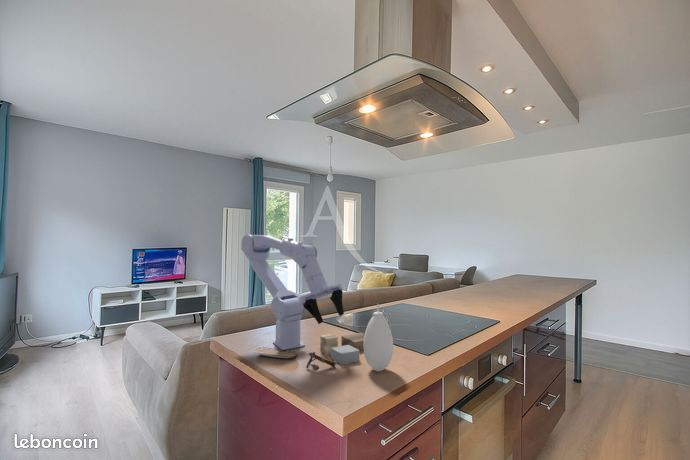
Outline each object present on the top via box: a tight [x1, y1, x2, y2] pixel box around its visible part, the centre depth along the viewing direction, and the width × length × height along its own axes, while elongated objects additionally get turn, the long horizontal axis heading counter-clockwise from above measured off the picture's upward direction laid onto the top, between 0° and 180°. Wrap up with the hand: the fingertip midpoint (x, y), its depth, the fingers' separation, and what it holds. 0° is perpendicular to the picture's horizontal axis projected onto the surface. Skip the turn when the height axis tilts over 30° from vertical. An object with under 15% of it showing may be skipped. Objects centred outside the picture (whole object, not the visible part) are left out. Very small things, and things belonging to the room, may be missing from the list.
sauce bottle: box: [363, 303, 394, 372], centre depth 85 cm, size 8×8×18 cm
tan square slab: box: [340, 332, 365, 352], centre depth 104 cm, size 8×8×3 cm
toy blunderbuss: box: [305, 351, 337, 370], centre depth 86 cm, size 2×8×4 cm, turn 99°
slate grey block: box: [330, 345, 360, 366], centre depth 92 cm, size 6×6×3 cm
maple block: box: [319, 333, 339, 356], centre depth 99 cm, size 4×4×5 cm
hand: (331, 318), depth 95 cm, fingers open, 7 cm apart
